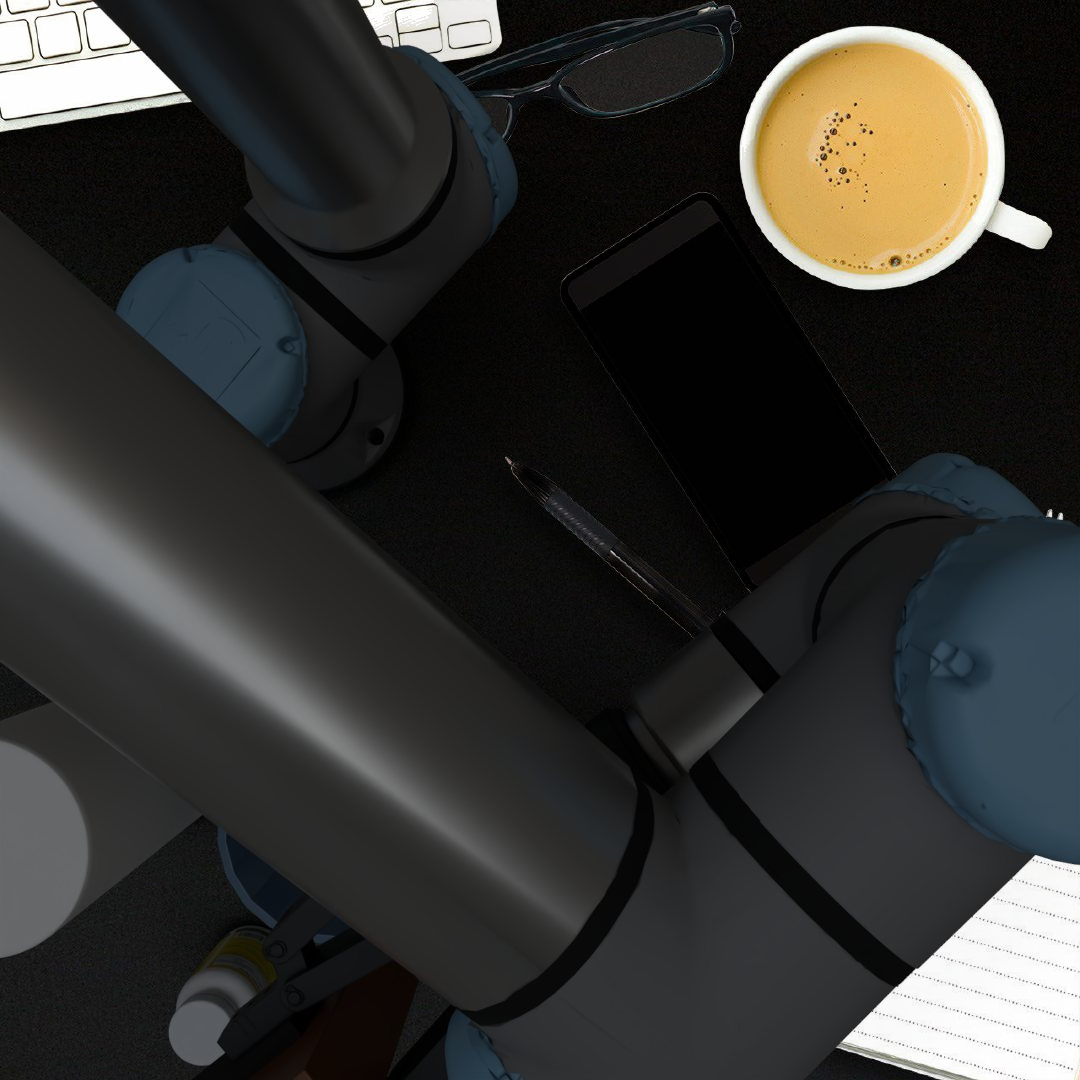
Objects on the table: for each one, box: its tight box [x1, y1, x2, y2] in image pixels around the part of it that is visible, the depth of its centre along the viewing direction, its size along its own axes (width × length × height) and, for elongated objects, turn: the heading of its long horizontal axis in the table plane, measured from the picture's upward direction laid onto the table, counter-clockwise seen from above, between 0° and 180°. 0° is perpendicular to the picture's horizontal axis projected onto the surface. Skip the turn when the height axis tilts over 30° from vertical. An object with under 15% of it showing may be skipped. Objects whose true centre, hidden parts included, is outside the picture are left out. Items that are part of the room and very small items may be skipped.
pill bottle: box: [168, 924, 277, 1067], centre depth 73 cm, size 6×6×11 cm
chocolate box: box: [248, 960, 420, 1080], centre depth 38 cm, size 5×3×11 cm, turn 129°
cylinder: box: [0, 701, 203, 959], centre depth 66 cm, size 12×12×25 cm
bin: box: [216, 826, 351, 944], centre depth 69 cm, size 14×14×16 cm
